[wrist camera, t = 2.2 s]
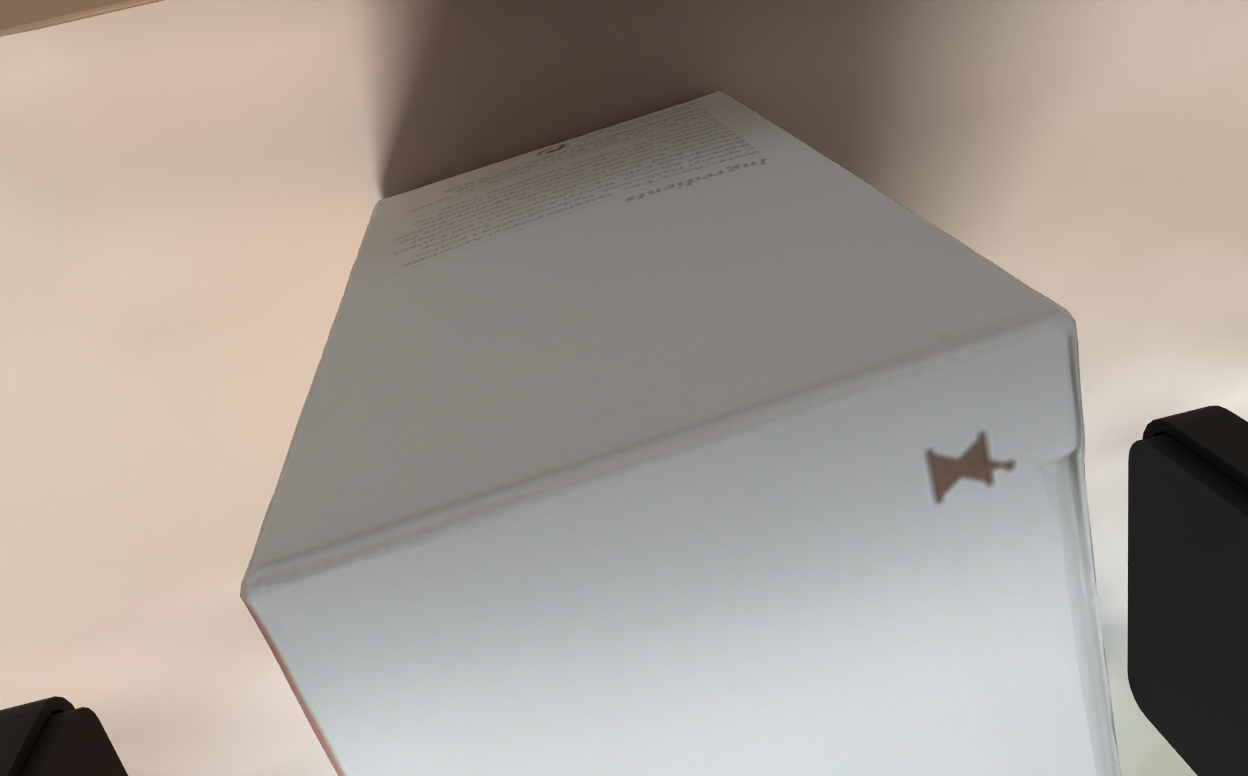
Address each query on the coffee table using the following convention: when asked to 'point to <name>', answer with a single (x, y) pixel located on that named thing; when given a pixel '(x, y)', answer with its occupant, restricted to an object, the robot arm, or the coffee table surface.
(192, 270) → the coffee table surface
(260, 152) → the coffee table surface
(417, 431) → the small box
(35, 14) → the walnut block
